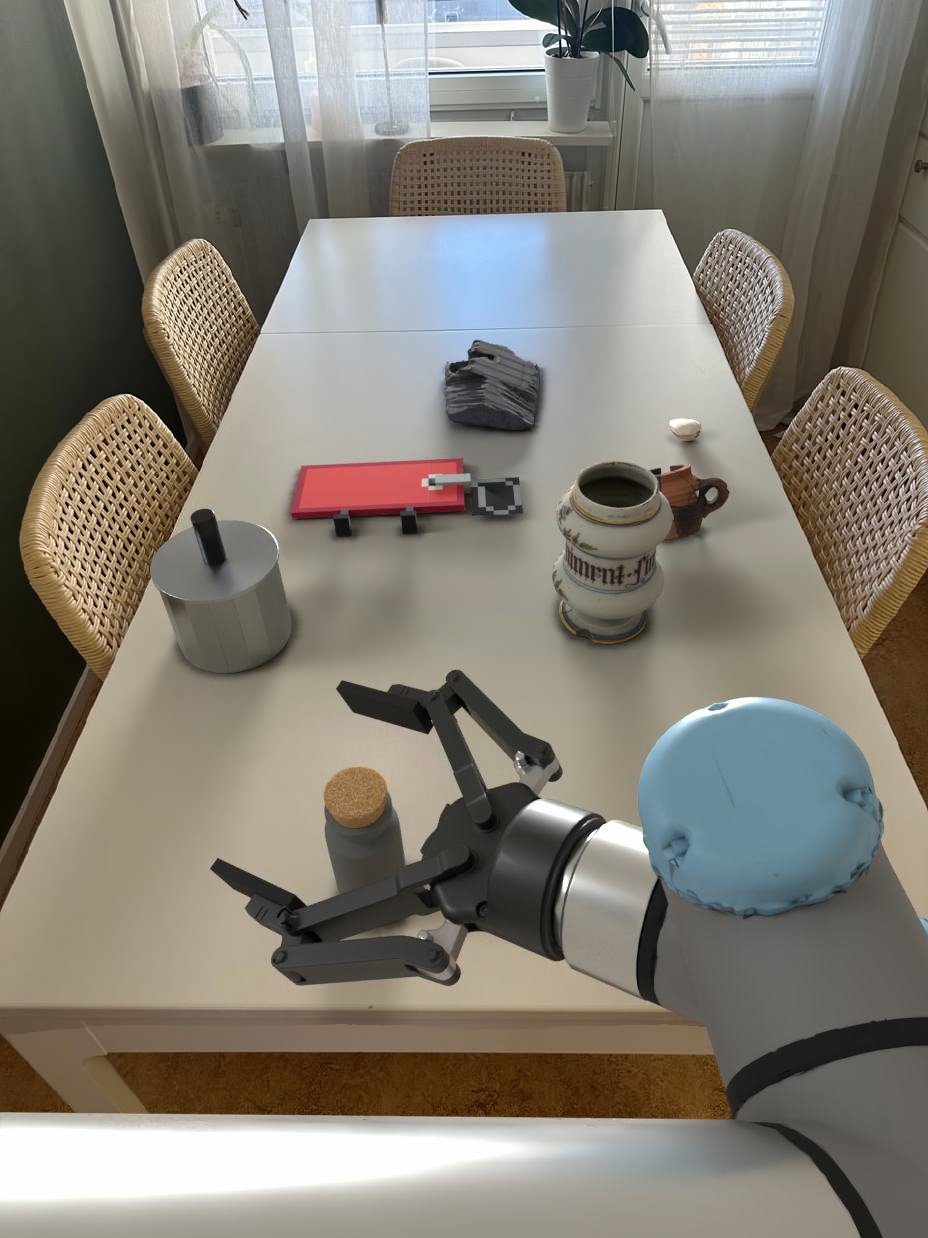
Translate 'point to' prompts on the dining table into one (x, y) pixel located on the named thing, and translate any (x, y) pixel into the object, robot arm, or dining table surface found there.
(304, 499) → the red board with handle
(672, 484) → the pottery mug
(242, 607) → the pot
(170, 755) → the dining table surface
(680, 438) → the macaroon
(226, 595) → the pot lid
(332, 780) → the bottle
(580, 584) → the apothecary jar
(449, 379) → the dark slate chunk
